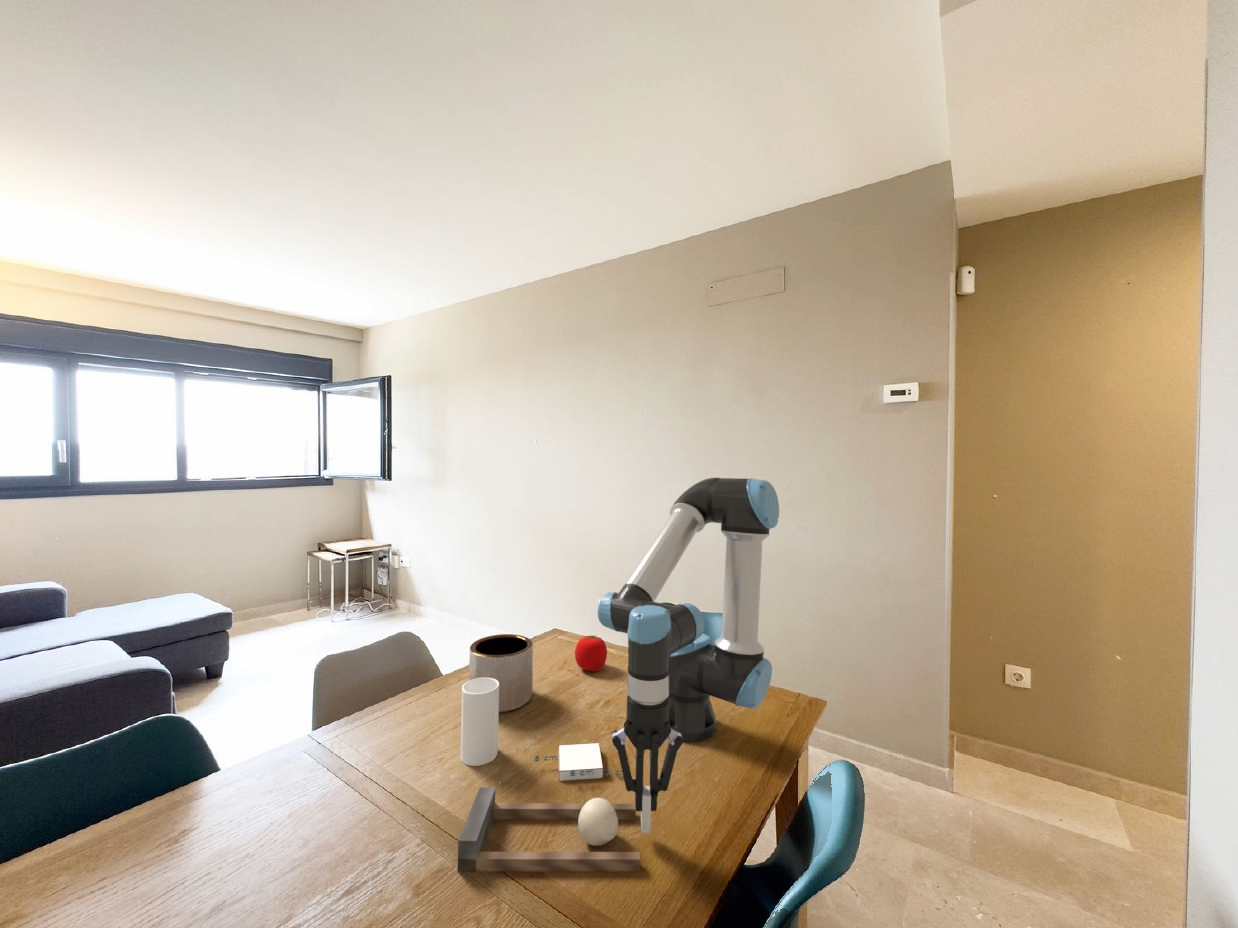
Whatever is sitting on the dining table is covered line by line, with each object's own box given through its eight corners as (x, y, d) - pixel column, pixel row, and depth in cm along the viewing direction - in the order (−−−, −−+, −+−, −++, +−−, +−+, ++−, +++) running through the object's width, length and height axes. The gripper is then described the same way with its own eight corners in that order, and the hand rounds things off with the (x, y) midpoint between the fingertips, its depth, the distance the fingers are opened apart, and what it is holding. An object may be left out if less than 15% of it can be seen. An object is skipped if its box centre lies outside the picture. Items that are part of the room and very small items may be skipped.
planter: (545, 695, 138) (546, 641, 138) (499, 722, 123) (500, 662, 123) (501, 679, 148) (502, 629, 148) (454, 703, 133) (455, 647, 133)
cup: (487, 768, 105) (488, 695, 105) (453, 762, 106) (454, 691, 106) (503, 746, 113) (505, 679, 113) (471, 742, 114) (473, 675, 115)
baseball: (599, 863, 80) (600, 824, 80) (570, 839, 85) (571, 802, 85) (626, 841, 85) (626, 803, 85) (597, 819, 90) (598, 784, 90)
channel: (635, 813, 92) (635, 787, 92) (639, 871, 79) (640, 840, 79) (479, 813, 91) (479, 787, 91) (457, 870, 78) (458, 840, 78)
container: (621, 751, 112) (622, 739, 112) (629, 783, 101) (629, 770, 101) (535, 756, 110) (535, 745, 110) (532, 790, 98) (532, 777, 98)
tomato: (594, 678, 150) (595, 644, 150) (568, 670, 156) (569, 637, 156) (613, 667, 159) (613, 634, 159) (587, 659, 164) (588, 628, 164)
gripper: (680, 686, 89) (678, 811, 89) (611, 685, 89) (609, 811, 89) (687, 706, 82) (685, 843, 82) (611, 705, 82) (609, 843, 81)
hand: (645, 826), depth 85 cm, fingers closed
